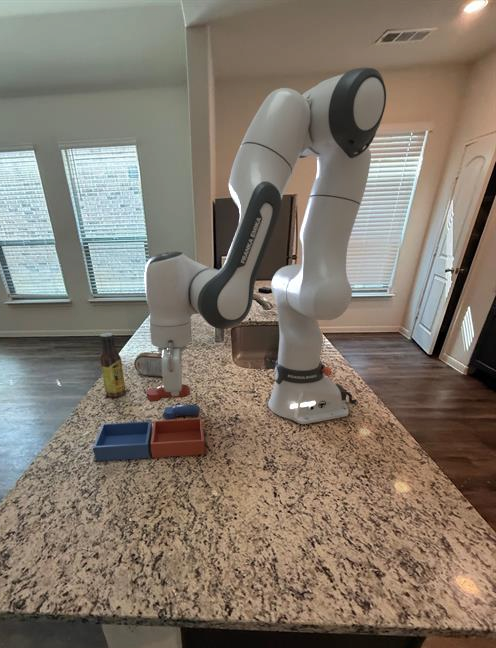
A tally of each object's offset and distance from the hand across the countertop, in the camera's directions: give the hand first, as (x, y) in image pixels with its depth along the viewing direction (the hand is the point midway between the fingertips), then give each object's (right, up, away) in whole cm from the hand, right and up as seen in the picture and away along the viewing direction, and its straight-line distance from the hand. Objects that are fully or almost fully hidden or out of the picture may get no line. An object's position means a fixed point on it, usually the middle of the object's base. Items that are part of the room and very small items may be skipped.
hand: (175, 390), depth 74 cm
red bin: (0, -13, +4) cm, 14 cm away
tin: (-11, +4, +39) cm, 41 cm away
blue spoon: (0, -7, +16) cm, 17 cm away
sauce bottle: (-22, -2, +28) cm, 36 cm away
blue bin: (-13, -14, +3) cm, 19 cm away
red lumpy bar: (-2, -2, +1) cm, 3 cm away
